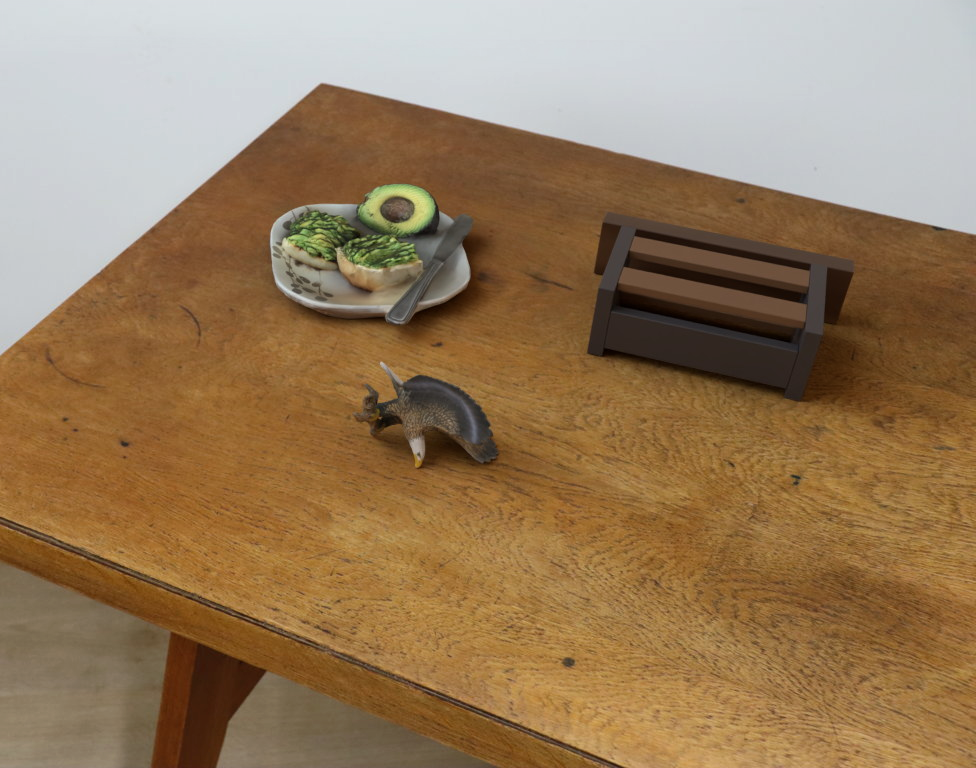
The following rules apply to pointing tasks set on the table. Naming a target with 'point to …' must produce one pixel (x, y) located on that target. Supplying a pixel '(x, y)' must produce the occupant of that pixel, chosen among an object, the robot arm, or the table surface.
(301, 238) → the salad plate
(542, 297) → the table surface
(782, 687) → the table surface
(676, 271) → the board
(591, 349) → the shoe rack
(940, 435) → the table surface
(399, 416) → the eagle figurine
